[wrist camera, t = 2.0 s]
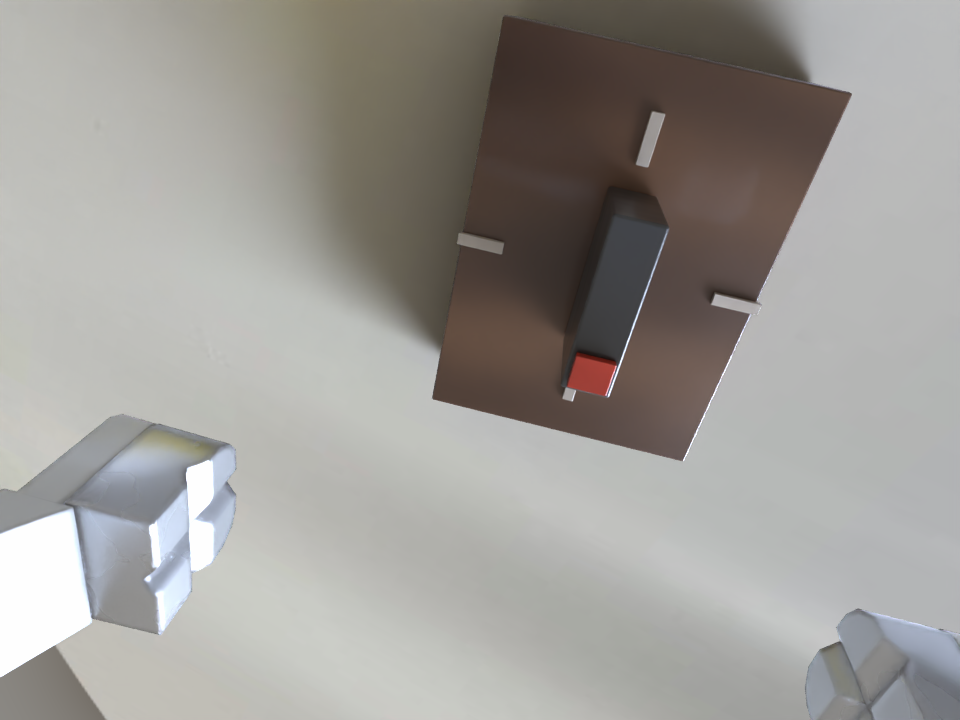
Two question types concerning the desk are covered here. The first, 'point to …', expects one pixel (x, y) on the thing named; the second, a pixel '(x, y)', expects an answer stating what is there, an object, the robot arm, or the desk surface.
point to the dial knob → (612, 289)
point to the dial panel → (575, 214)
